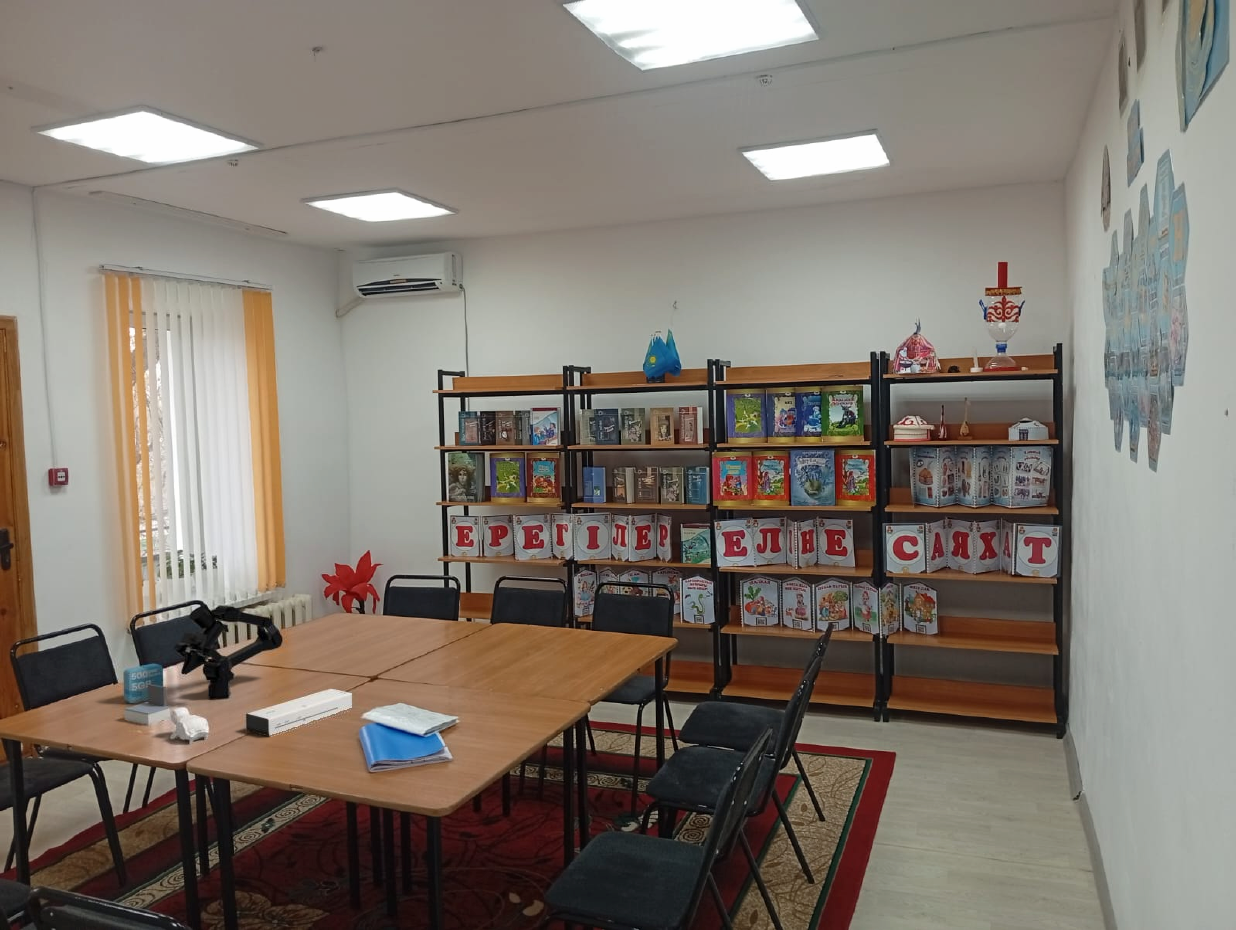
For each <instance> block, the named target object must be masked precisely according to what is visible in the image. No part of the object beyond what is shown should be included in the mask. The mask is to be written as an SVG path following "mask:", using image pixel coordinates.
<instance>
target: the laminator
mask: <svg viewBox="0 0 1236 930" xmlns="http://www.w3.org/2000/svg"><path fill="white" fill-rule="evenodd" d="M353 698H354V697H353V692H348V691H345V690H340V689H335V688H328V689H325V690H321V691H318V692H315V693H311V694H309V695H304V696H302V697H298V698H295V699H292V700H288V701H285V702H282V703H278V704H275V705H272V706H268V707H263V708H261V709H258V710H254V711H251V712H248V713H245V723H246V724H245V725H246V726H245V727H246V730H249V731H248V732H251V731H254V732H253V733H255V732H257V733H256V734H259V733H261V734H260V735H262V734H266V735H268V736H267V737H269V736H270V735H272V734H276V733H279V732H282V731H286V730H288V729H291V728H293V727H298V726H300V725H302V724H307V723H309V722H311V721H313V720H318V719H320V718H323V717H327V716H330V715H332V714H336V713H338V712H340V711H343V710H347V709H349V708H352V709H353V708H354V707H353V705H354V704H353V701H354V700H353ZM286 732H287V731H286ZM266 735H265V736H266Z"/></svg>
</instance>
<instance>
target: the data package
mask: <svg viewBox="0 0 1236 930" xmlns="http://www.w3.org/2000/svg"><path fill="white" fill-rule="evenodd" d="M122 674H123V699H124V701H125V702H126V701H127V702H126V703H129V704H131V703H135V704H138V703H137V702H139V703H141V702H140V701H144V702H146V701H145V700H148V684H152V685H158V686H163V687H164V667H163V666H162V665H161V664H157V663H149V664H145V665H138V666H134V667H129V668H126V669H124V671H123V673H122Z"/></svg>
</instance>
